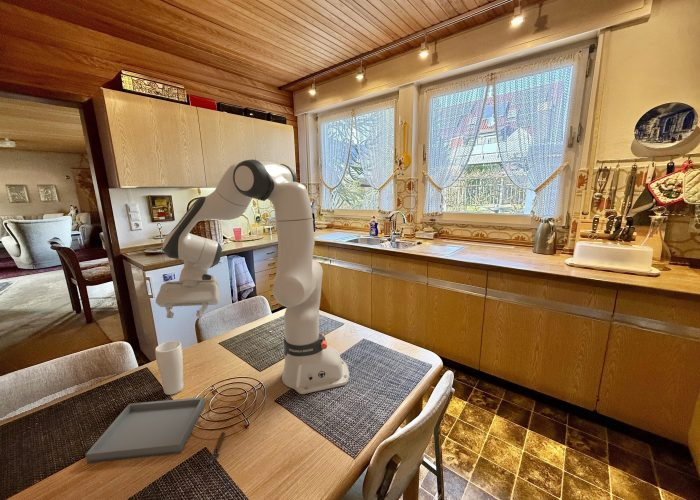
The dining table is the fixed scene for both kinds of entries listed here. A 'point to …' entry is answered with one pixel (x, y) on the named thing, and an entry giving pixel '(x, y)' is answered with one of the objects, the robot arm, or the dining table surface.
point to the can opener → (217, 448)
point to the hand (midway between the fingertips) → (184, 316)
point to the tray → (148, 430)
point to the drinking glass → (170, 366)
